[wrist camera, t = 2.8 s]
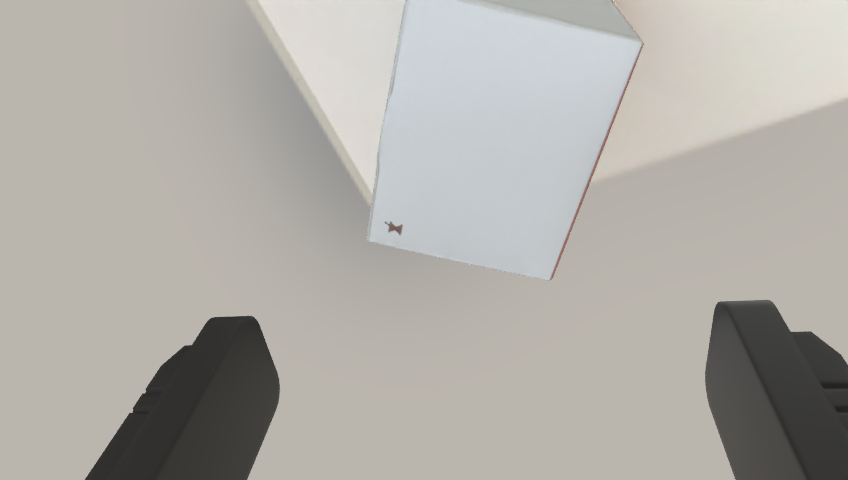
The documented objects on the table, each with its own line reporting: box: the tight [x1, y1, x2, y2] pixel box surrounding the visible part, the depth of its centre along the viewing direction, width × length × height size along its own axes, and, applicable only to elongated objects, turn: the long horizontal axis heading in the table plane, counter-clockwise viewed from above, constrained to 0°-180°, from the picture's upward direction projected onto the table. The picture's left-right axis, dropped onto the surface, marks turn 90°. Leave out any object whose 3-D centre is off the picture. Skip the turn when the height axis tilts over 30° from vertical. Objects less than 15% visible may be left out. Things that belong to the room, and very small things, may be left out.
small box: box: [367, 0, 643, 281], centre depth 23 cm, size 8×6×13 cm
